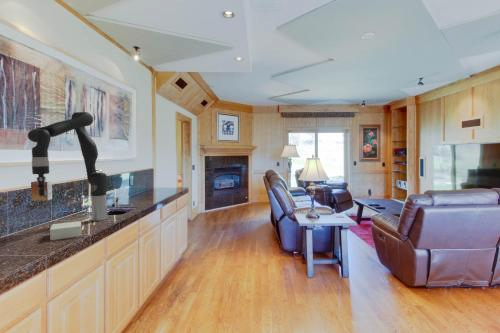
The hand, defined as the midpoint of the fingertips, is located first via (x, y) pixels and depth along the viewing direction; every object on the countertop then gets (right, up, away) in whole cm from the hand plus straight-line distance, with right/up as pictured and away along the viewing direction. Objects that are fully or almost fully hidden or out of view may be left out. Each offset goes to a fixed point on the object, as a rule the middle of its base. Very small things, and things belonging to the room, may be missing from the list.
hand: (42, 194), depth 152 cm
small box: (0, -3, 0) cm, 3 cm away
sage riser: (+12, -23, +3) cm, 27 cm away
